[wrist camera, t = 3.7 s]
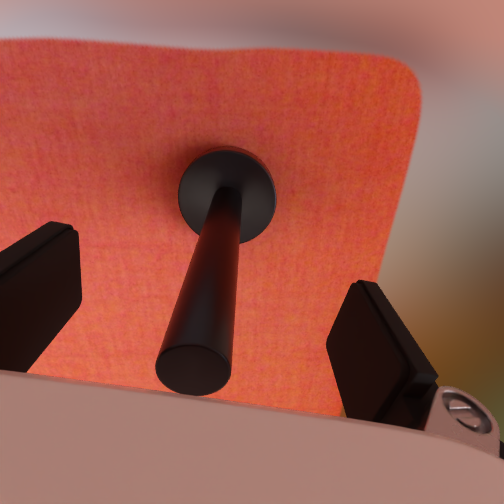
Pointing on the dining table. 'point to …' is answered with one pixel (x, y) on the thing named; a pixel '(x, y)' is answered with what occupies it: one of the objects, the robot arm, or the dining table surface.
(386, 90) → the dining table surface
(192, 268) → the black plunger
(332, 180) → the dining table surface
